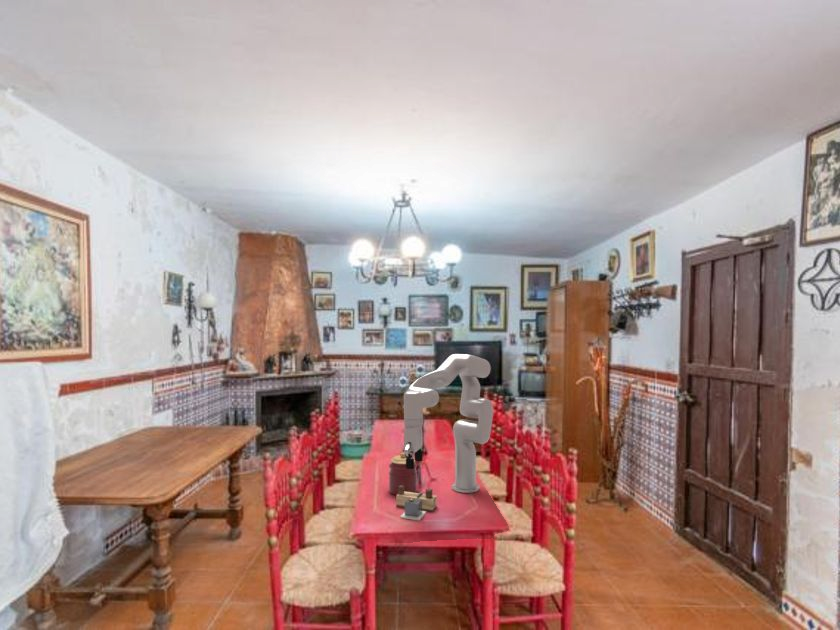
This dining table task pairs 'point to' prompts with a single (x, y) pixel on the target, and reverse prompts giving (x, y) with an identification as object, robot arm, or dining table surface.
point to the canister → (402, 475)
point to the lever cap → (413, 507)
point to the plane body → (427, 499)
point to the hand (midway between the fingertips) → (414, 464)
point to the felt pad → (413, 517)
